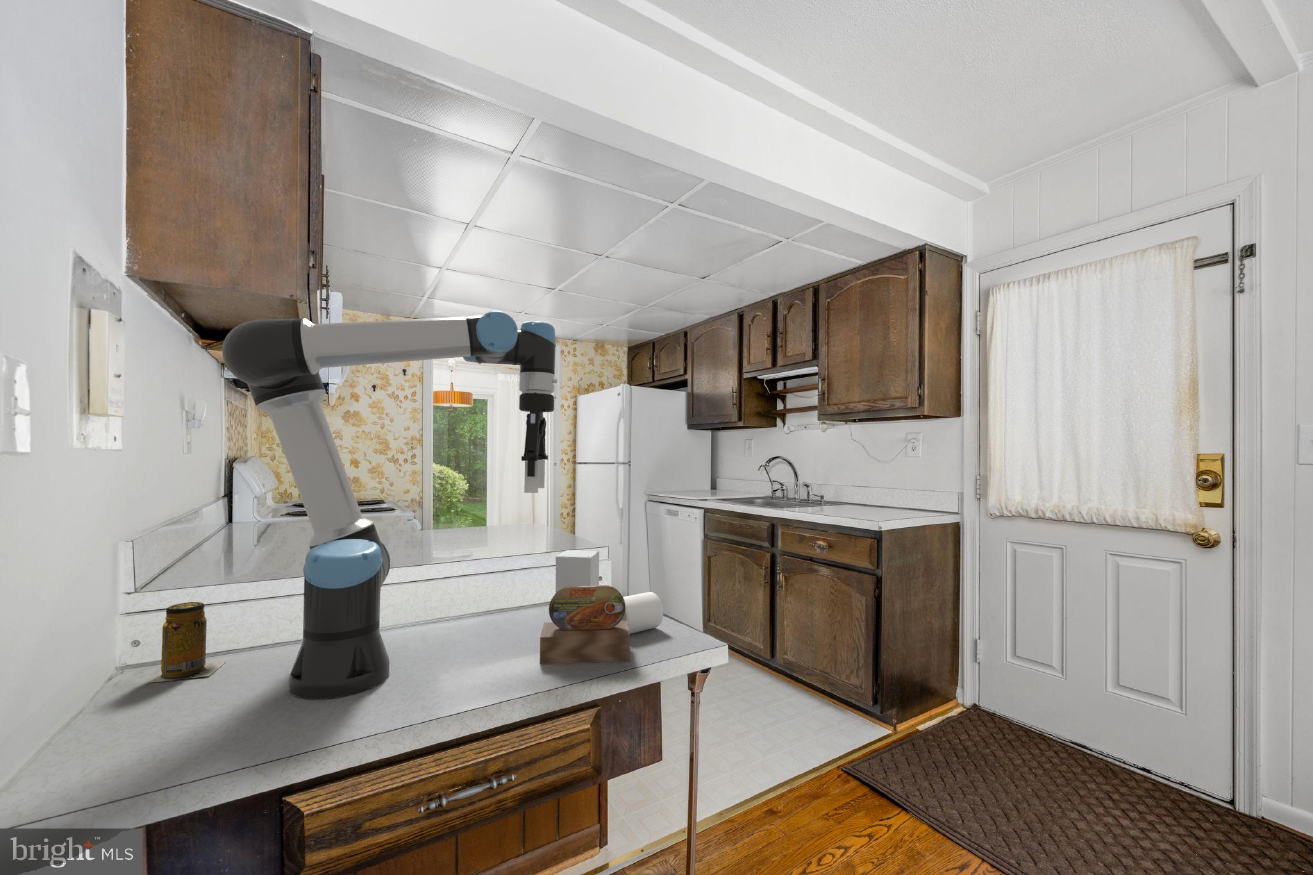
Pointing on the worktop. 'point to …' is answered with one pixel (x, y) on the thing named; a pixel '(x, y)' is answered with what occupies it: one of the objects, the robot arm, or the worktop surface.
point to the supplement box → (577, 569)
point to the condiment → (185, 643)
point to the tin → (587, 608)
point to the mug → (642, 612)
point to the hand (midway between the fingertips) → (534, 490)
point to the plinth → (584, 644)
